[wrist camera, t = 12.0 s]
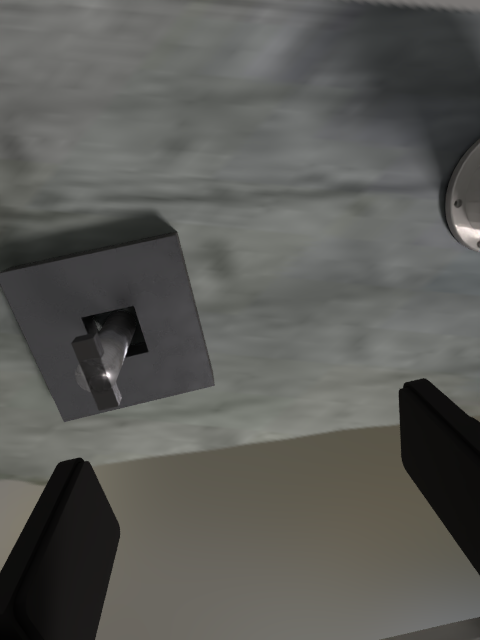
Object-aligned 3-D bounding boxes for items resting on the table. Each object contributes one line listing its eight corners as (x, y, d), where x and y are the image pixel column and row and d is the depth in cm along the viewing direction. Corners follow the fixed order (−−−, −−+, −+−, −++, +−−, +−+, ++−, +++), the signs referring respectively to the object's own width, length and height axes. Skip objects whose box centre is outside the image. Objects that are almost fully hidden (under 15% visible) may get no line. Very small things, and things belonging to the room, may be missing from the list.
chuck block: (177, 231, 34) (176, 235, 32) (212, 371, 40) (214, 385, 37) (11, 266, 34) (-5, 274, 31) (72, 405, 39) (64, 421, 37)
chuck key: (127, 294, 36) (102, 336, 26) (144, 346, 38) (127, 403, 28) (97, 300, 36) (61, 345, 25) (116, 352, 38) (90, 412, 28)
